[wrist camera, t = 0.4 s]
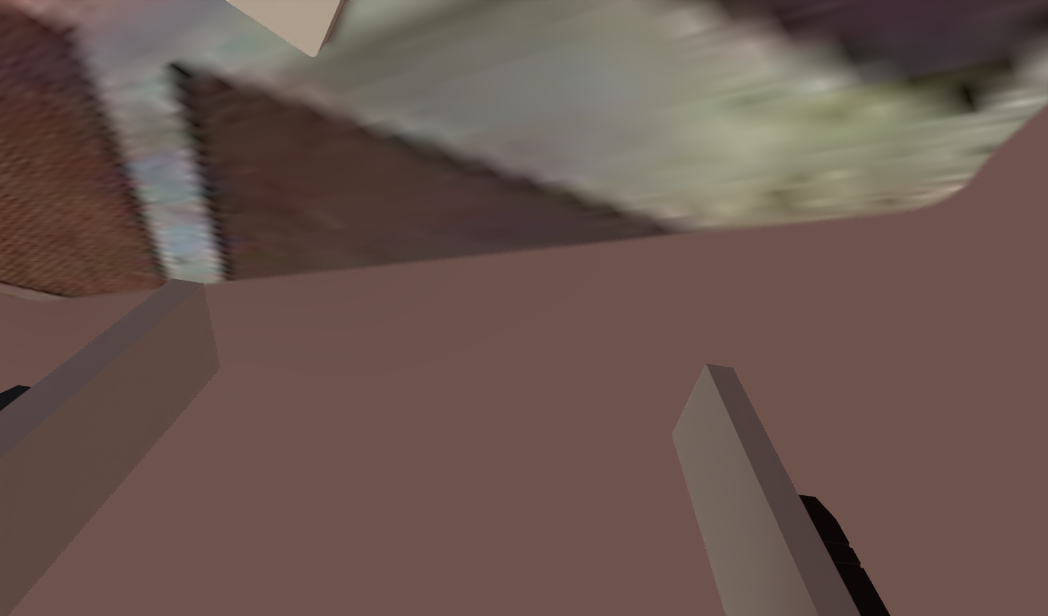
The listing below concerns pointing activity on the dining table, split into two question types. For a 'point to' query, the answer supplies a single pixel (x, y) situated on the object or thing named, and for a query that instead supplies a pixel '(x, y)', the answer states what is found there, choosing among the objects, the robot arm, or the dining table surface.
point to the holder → (295, 20)
